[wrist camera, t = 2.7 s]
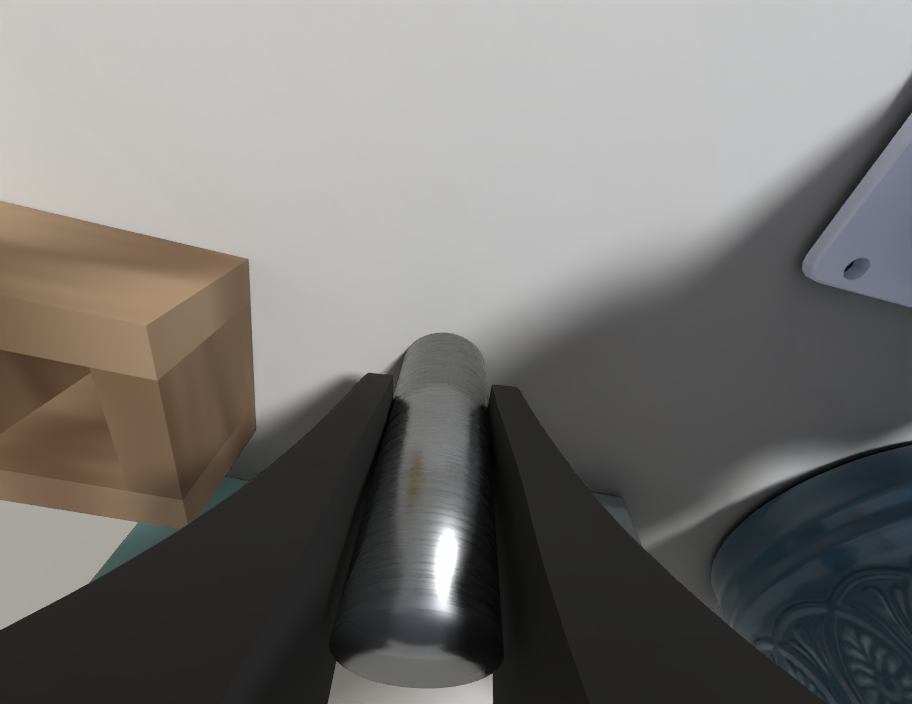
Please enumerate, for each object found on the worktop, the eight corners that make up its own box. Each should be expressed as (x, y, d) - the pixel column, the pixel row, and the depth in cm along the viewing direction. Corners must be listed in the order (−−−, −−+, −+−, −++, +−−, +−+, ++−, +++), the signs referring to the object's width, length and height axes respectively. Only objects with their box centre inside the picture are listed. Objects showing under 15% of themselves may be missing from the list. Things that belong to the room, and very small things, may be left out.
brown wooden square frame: (248, 259, 10) (146, 325, 7) (256, 430, 13) (188, 529, 10) (-13, 198, 9) (-262, 240, 6) (61, 393, 12) (-76, 487, 9)
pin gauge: (494, 343, 11) (528, 625, 5) (472, 407, 12) (478, 696, 6) (410, 324, 10) (335, 597, 5) (396, 391, 12) (323, 677, 6)
